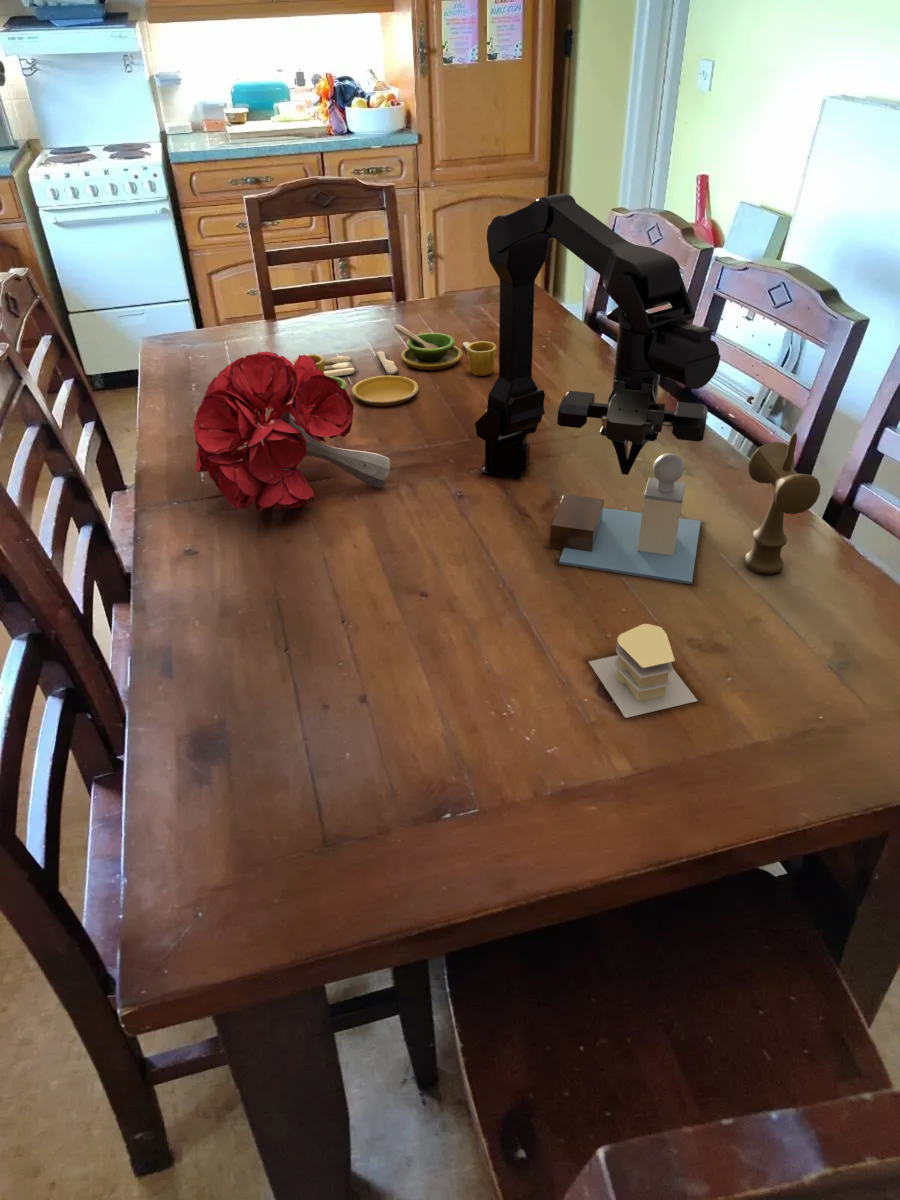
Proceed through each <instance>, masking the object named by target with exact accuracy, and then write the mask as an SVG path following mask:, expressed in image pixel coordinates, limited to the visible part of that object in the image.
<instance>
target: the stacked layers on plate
mask: <svg viewBox="0 0 900 1200" xmlns="http://www.w3.org/2000/svg"><path fill="white" fill-rule="evenodd" d="M615 652H616V655H611V656H607V657H603V658H598V659H594V660H588V663H589V665H590V666H591V668H592V669H593V671H594V672H595V674H596V675H597V677H598V679H599V680H600V682H601V684H602V685H603V687H604V688H605V690H606V691H607V693H608V694H609V696H610V697H611V698H612V700H613V701H614V703H615V704H616V706H617V707H618V709H619V711H620V712H621V714H622V715H623V717H624V718H625V719H627V718H631V717H636V716H640V715H644V714H649V713H653V712H657V711H662V710H665V709H670V708H674V707H679V706H682V705H686V704H690V703H691V704H692V703H696V702H698V701H699V700H698V699H697V698H696V696H695V695H694V694H693V692H692V691H691V690H690V689H689V687H688V686H687V685H686V683H685V682H684V680H682V678H681V677H680V676H679V675H678V672H677V671H676V670H675V669H674V667H673V663H672V662H675V660H676V659H675V656H674V653H673V650H672V647H671V643H670V640H669V636H668V635H667V632H666V631H665V630H664V629H663V628H662V626H659V625H654V624H650V623H642V624H640V625H638V626H635V627H633V628H631V629H628V630H626V631H624V632H622V633H621V634H619V635H618V636H617V645H616V648H615Z"/></svg>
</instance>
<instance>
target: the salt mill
mask: <svg viewBox="0 0 900 1200" xmlns="http://www.w3.org/2000/svg"><path fill="white" fill-rule="evenodd" d="M684 465H685V464H684V462H683V460H682V459H681V457H679V455H677V454H675V453H663V454H661V455H660V456H658V457H657V458H656V459H655V461H654V462H653V466H652V472H653V473H652V474H653V475H654V477H648V480H647V483H646V487H645V491H644V495H643V504H642V509H641V513H642V517H641V525H640V532H639V539H638V547H637V551H644V552H650V553H657V554H664V555H671V556H673V555H674V549H675V544H676V538H677V532H678V526H679V520H680V518H681V514H682V508H683V501H684V495H685V489H686V484H687V483H686V481H679V479H681V478H682V476H683V474H684V469H685V466H684Z"/></svg>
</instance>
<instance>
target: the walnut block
mask: <svg viewBox="0 0 900 1200" xmlns="http://www.w3.org/2000/svg"><path fill="white" fill-rule="evenodd" d="M604 502H605V499H604V498H597V497H591V496H590V497H589V496H583V495H575V494H567V493H563V495H562V496H561V499H560V501H559V504H558V507H557V509H556V511H555V514H554V517H553V519H552V521H551V524H550V533H549V534H550V535H549V549H550V550H551V549H552V550H557V551H563V549H564V548H569V549H576V550H582V551H589V552H592V549H593V546H594V543H595V540H596V537H597V534H598V530H599V527H600V524H601V521H602V514H603V508H604Z"/></svg>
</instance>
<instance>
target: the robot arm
mask: <svg viewBox="0 0 900 1200" xmlns="http://www.w3.org/2000/svg"><path fill="white" fill-rule="evenodd" d="M553 239H554V240H556V241H557V242H558V243H559V244H561V245H562V246H564V248H566V249H567V250H569V252H571V253H572V254H574V255H575V256H576V257H577V258H578V259H580V260H581V261H582V262H584V263H585V264H586V265H587V266H589V267H590V268H591V269H592V270H594V272H596V273H597V274H599V276H600V277H601V278H602V279H603V284H604V290H605V292H606V294H607V295H608V296H609V297H610V299H611V300H612V301H613V302H614V303H615V304H616V305H617V306H616V307H615V308H614V309H612V310H611V311H610V312H608V313H607V314H606V319H607V320H609V321H611V322H614V323H616V324H618V329H617V330H618V331H617V339H616V350H615V361H614V370H613V379H612V389H611V392H610V394H609V397H608V399H607V403H602V402H595V399H596V396H595V393H594V392H587V391H578V390H568V391H567V392H566V393H565V394H564V396H563V397H562V399H561V402H560V403H559V405H558V410H557V421H556V424H557V425H558V426H560V427H565V428H566V427H567V428H575V429H581V428H582V427H584V426H585V425H586V424H587V423H588V418H593V419H601V423H602V424H601V428H600V431H599V433H600V435H601V436H603V437H606V438H607V439H608V440H610V441H611V443H612V445H613V447H614V450H615V453H616V457H617V461H618V465H619V469H620V472H621V475H626V476H628V475H629V474H630V472H631V470H632V468H633V466H634V464H635V461H636V460H637V458H638V455H639V454H640V452H641V451H642V449H643V448H644V446H645V445H646V444H648V442H656V441H657V440H658V436H659V433H662V431H663V430H662V429H663V426H665V427H672V430H671V434H672V435H673V436H674V437H675V439H676V440H680V441H689V442H697V443H698V442H702V441H704V437H705V430H706V424H707V420H708V419H707V418H708V413H709V409H708V407H707V406H706V404H702V403H695V402H694V403H693V402H685V401H684V402H683V401H678V402H677V405H676V409H675V410H669V409H666V404H665V403H661V402H657V400H658V394H659V387H660V379H661V377H664V378H666V379H668V380H671V381H673V382H675V383H678V384H680V385H682V386H684V387H687V388H689V389H692V390H699V389H701V388H703V387H705V386H706V385H707V384H709V382H710V381H711V380H712V379H713V378H714V376H715V374H716V373H717V370H718V368H719V365H720V361H721V354H720V349H719V346H718V344H717V342H716V341H714V340H712V336H713V330H712V328H709V327H707V326H699V325H696V324H693V323H690V322H688V321H692V320H694V319H695V316H696V314H695V311H694V309H693V306H692V300H691V298H690V297H689V294H688V292H687V291H688V290H687V288H686V285H685V282H684V279H683V277H682V274H681V271H680V269H681V266H680V264H679V263H678V261H677V260H676V259H675V258H674V257H673V256H671V255H670V254H667V253H665V252H664V251H660V250H658V249H656V248H654V247H649V246H645V245H640V244H634V243H632V242H630V241H628V240H627V239H625V237H622V236H621V235H619V234H618V233H617V232H615V231H614V230H613V229H612V228H610V227H609V226H607V224H605V223H603V221H601V220H600V219H598V218H597V217H595V216H594V215H593V214H591V212H589V211H587V209H585V208H584V207H582V206H581V205H579V204H578V203H577V202H576V199H575V198H574V196H572V195H571V194H568V193H558V194H557V193H556V194H552V195H547V196H541V197H539V198H538V199H536V200H535V201H532V203H530V204H528V205H527V206H524V207H523V208H520V209H518V210H516V211H513V212H511V213H506V214H501V215H496V216H495V217H493V219H492V221H491V222H489V223H488V225H487V230H486V243H487V250H488V252H487V253H488V261H489V263H490V265H491V267H492V268H493V270H494V272H495V273H496V276H497V277H498V279H499V327H498V330H499V334H498V335H499V338H498V339H499V340H498V345H499V346H498V377H497V378H496V381H495V382H494V384H493V386H492V388H491V389H490V391H489V393H488V399H487V404H486V405H487V407H486V411H485V413H483V415H481V417H479V418H478V419H477V420H476V421H475V422H474V427H475V432H476V436H477V437H478V438H480V439H481V440H483V441H484V467H483V468H482V470H481V474H482V475H483V476H489V477H490V476H491V477H498V478H505V479H514V480H521V478H522V476H523V475H524V472H526V471H527V469H528V468H529V466H530V459H531V458H530V455H531V454H530V453H531V442H530V441H528V435H531V434H535V433H536V432H537V430H538V426H539V423H541V422H542V418H543V415H545V414H546V412H545V406H544V405H545V404H544V402H545V397H546V393H545V390H543V389H542V388H539V387H538V385H537V384H536V381H535V380H534V378H533V351H534V350H533V349H534V347H533V345H534V343H533V342H534V322H535V321H534V320H535V319H534V316H535V291H536V290H535V289H536V287H535V286H536V279H537V277H538V275H539V274H540V272H541V270H542V268H543V266H544V264H545V262H546V261H547V257H548V251H549V246H550V241H551V240H553ZM667 305H670V306H671V307H668V308H664V309H661V310H657V311H654V312H653V311H652V312H650V311H649V310H652V309H655V308H660V307H663V306H667ZM629 442H631V446H630V450H628V449H629V448H628V447H629ZM628 451H629V452H628Z"/></svg>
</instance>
